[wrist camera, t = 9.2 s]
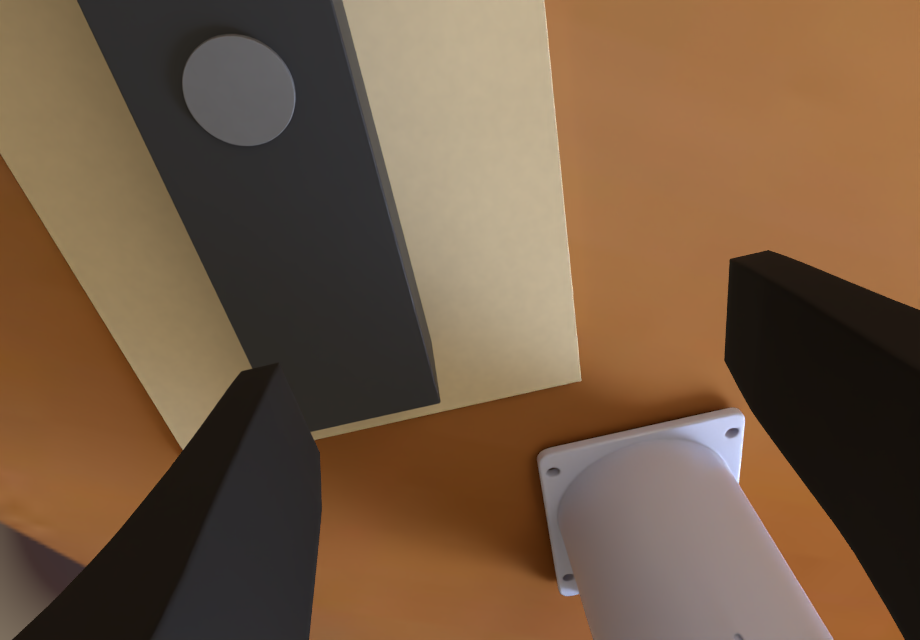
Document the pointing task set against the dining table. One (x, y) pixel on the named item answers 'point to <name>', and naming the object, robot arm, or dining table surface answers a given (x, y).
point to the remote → (280, 190)
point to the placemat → (410, 174)
